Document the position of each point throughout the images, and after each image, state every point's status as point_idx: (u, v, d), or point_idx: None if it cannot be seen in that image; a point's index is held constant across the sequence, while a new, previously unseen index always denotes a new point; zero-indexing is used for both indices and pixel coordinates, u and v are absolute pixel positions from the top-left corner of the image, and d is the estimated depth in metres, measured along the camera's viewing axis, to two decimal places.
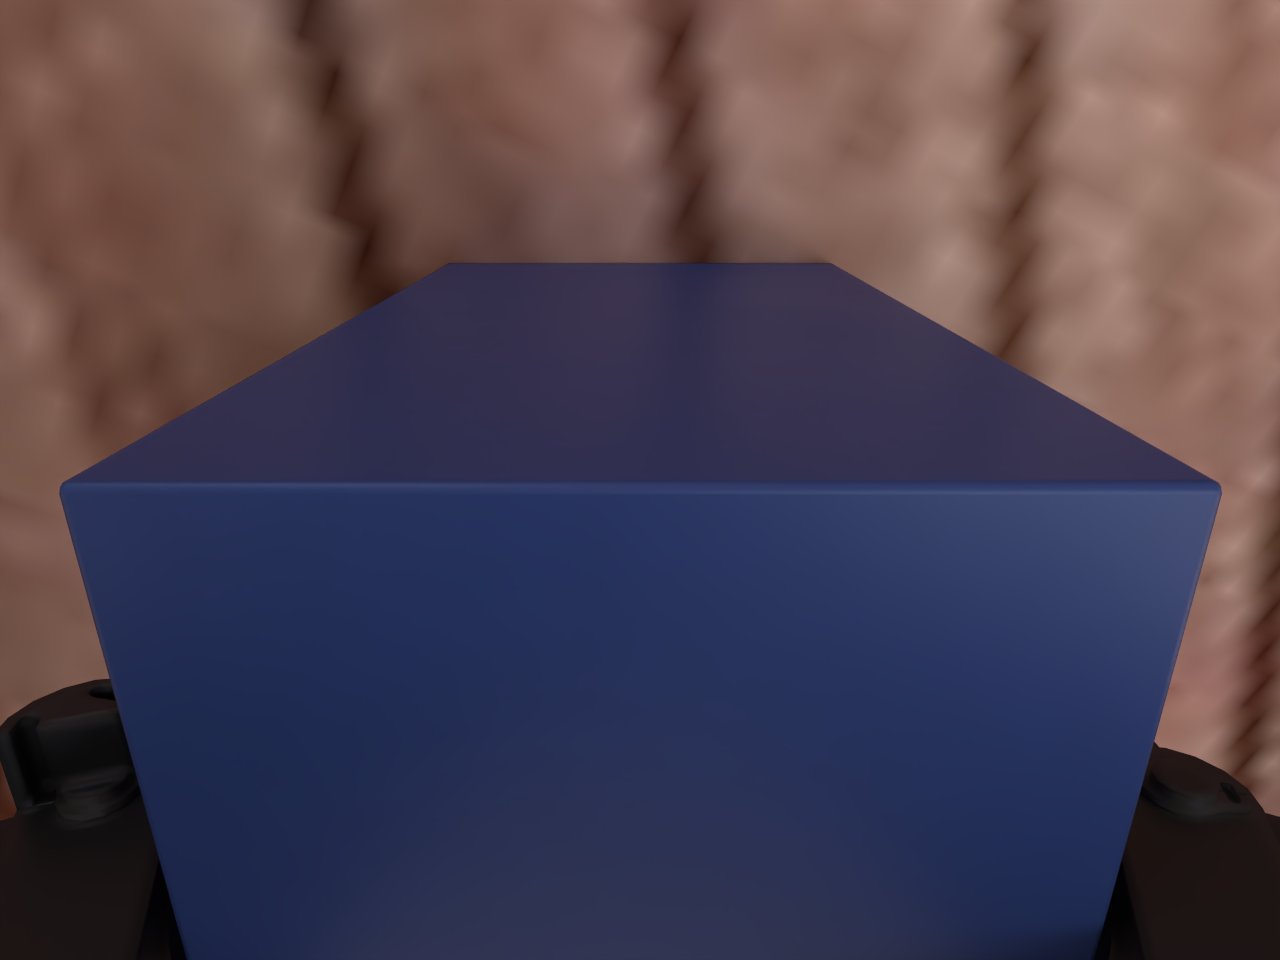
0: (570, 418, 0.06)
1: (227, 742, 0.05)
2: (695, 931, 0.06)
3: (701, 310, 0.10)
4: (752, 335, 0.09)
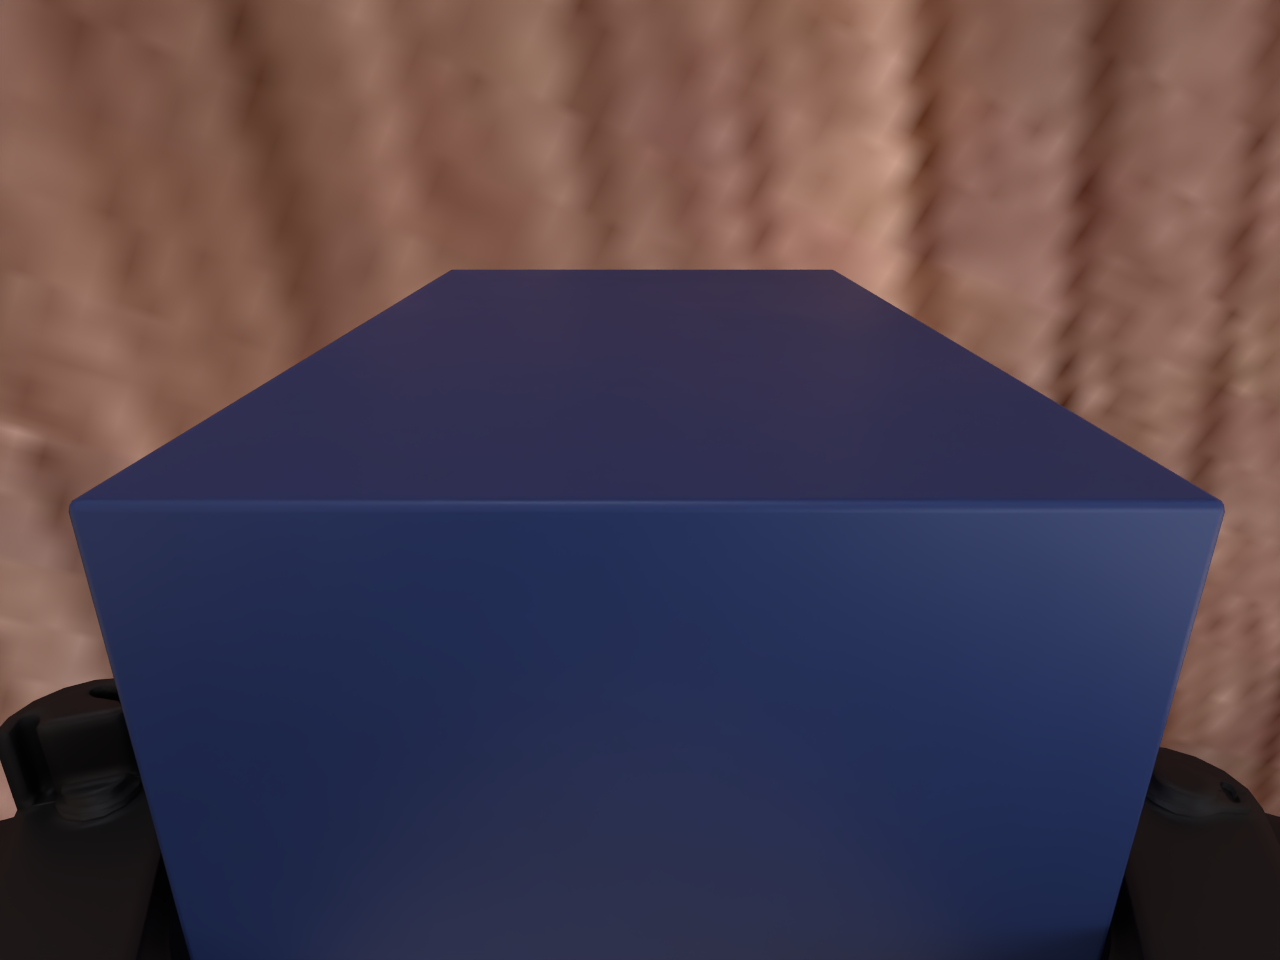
0: (576, 433, 0.06)
1: (235, 756, 0.05)
2: (699, 944, 0.06)
3: (704, 319, 0.10)
4: (755, 345, 0.09)
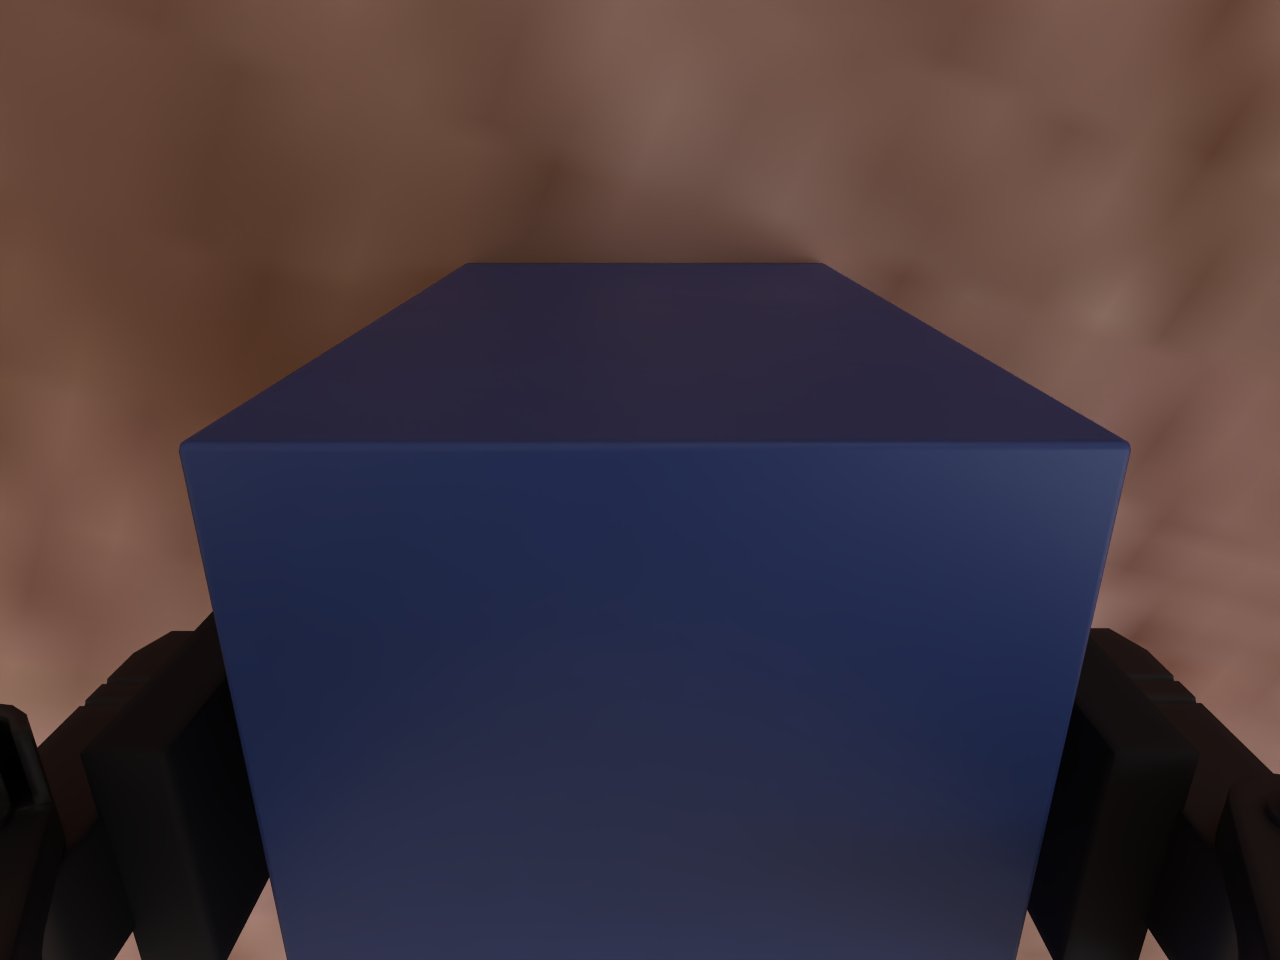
0: (593, 394, 0.07)
1: (308, 663, 0.06)
2: (698, 831, 0.07)
3: (702, 305, 0.11)
4: (748, 327, 0.10)
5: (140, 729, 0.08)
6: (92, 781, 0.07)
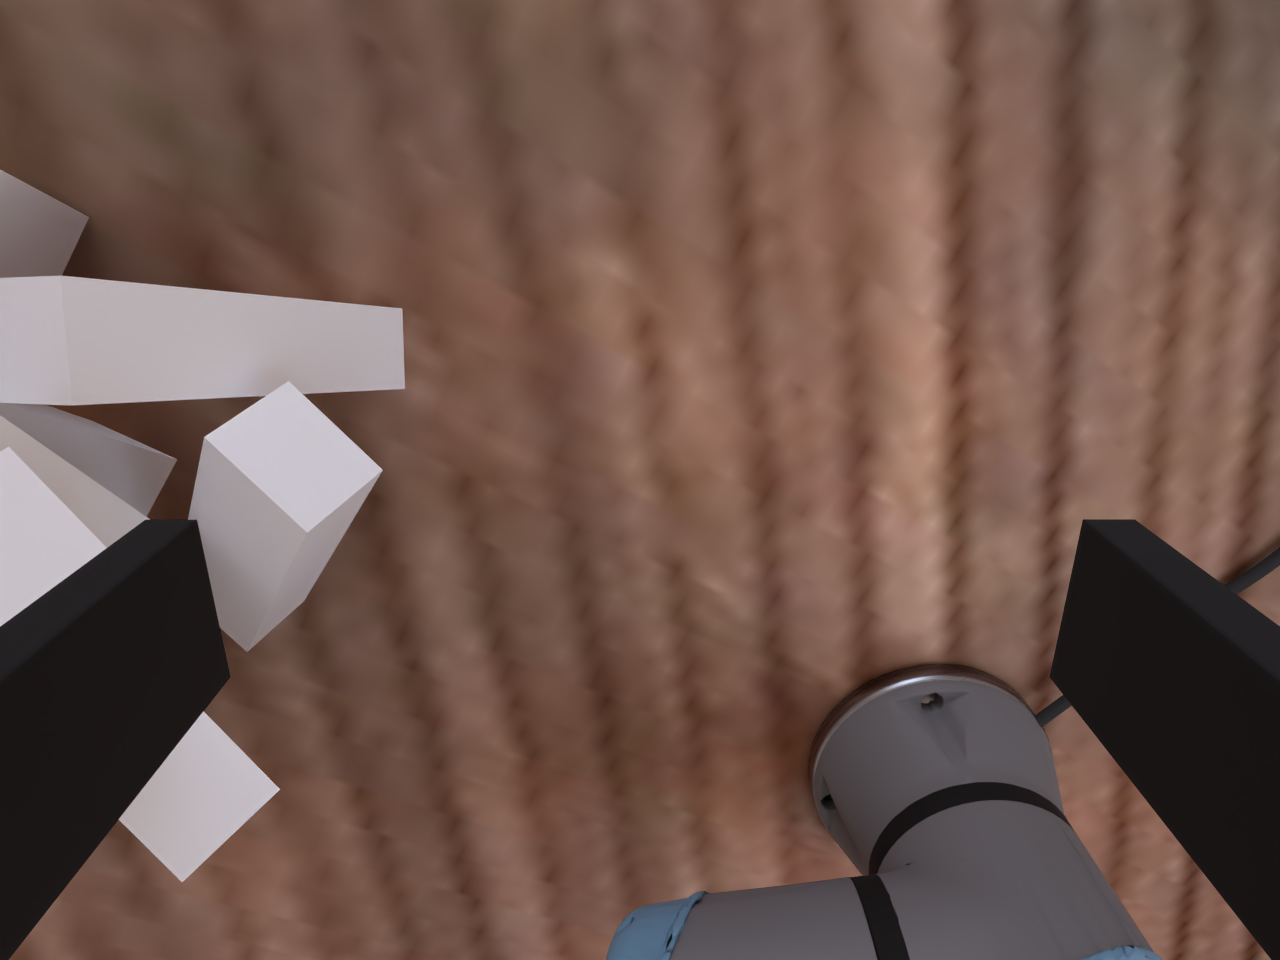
0: None
1: None
2: None
3: None
4: None
5: None
6: None
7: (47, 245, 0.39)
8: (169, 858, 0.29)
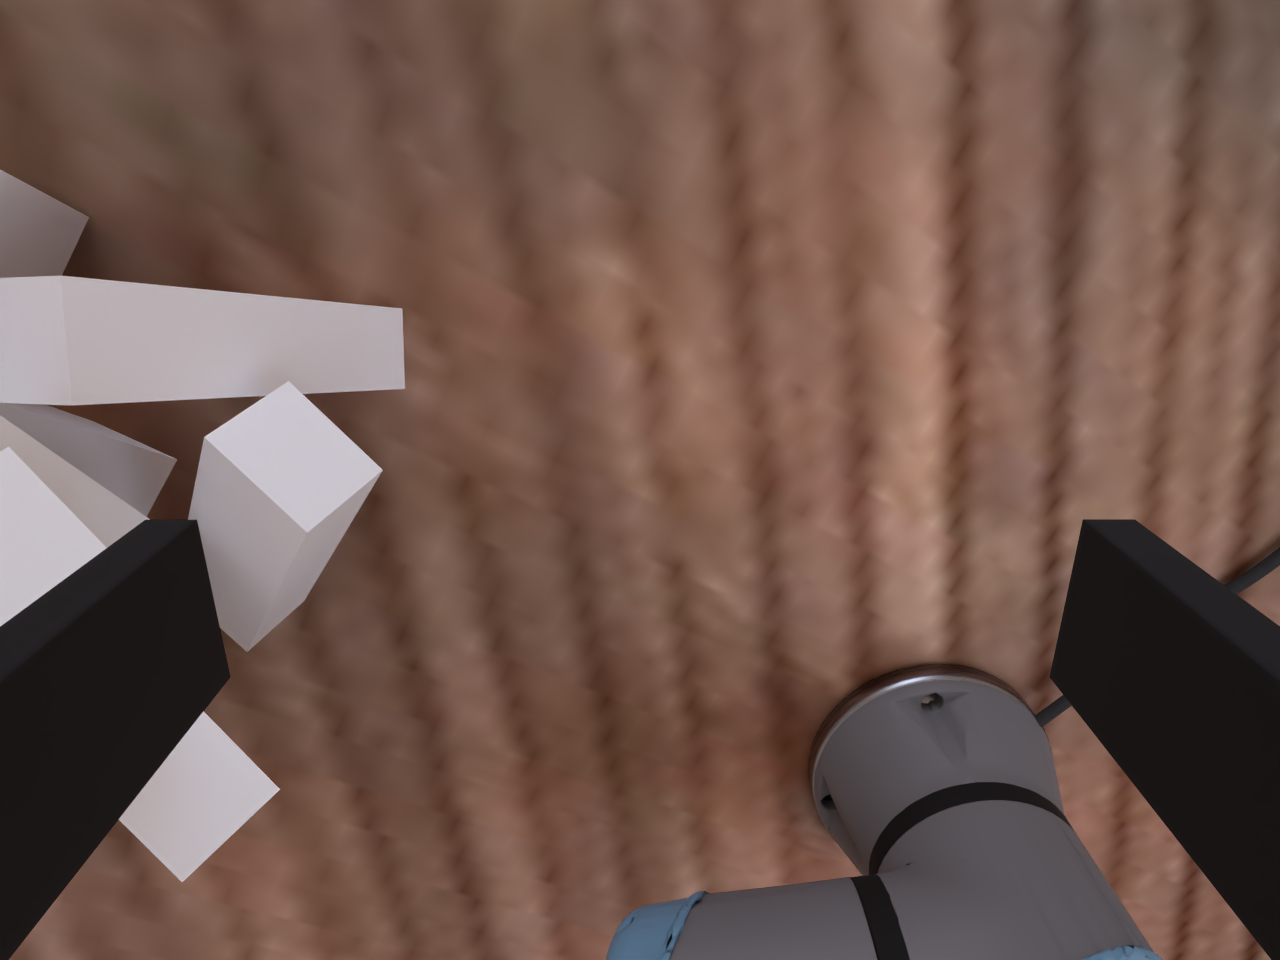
0: None
1: None
2: None
3: None
4: None
5: None
6: None
7: (47, 245, 0.39)
8: (169, 858, 0.29)
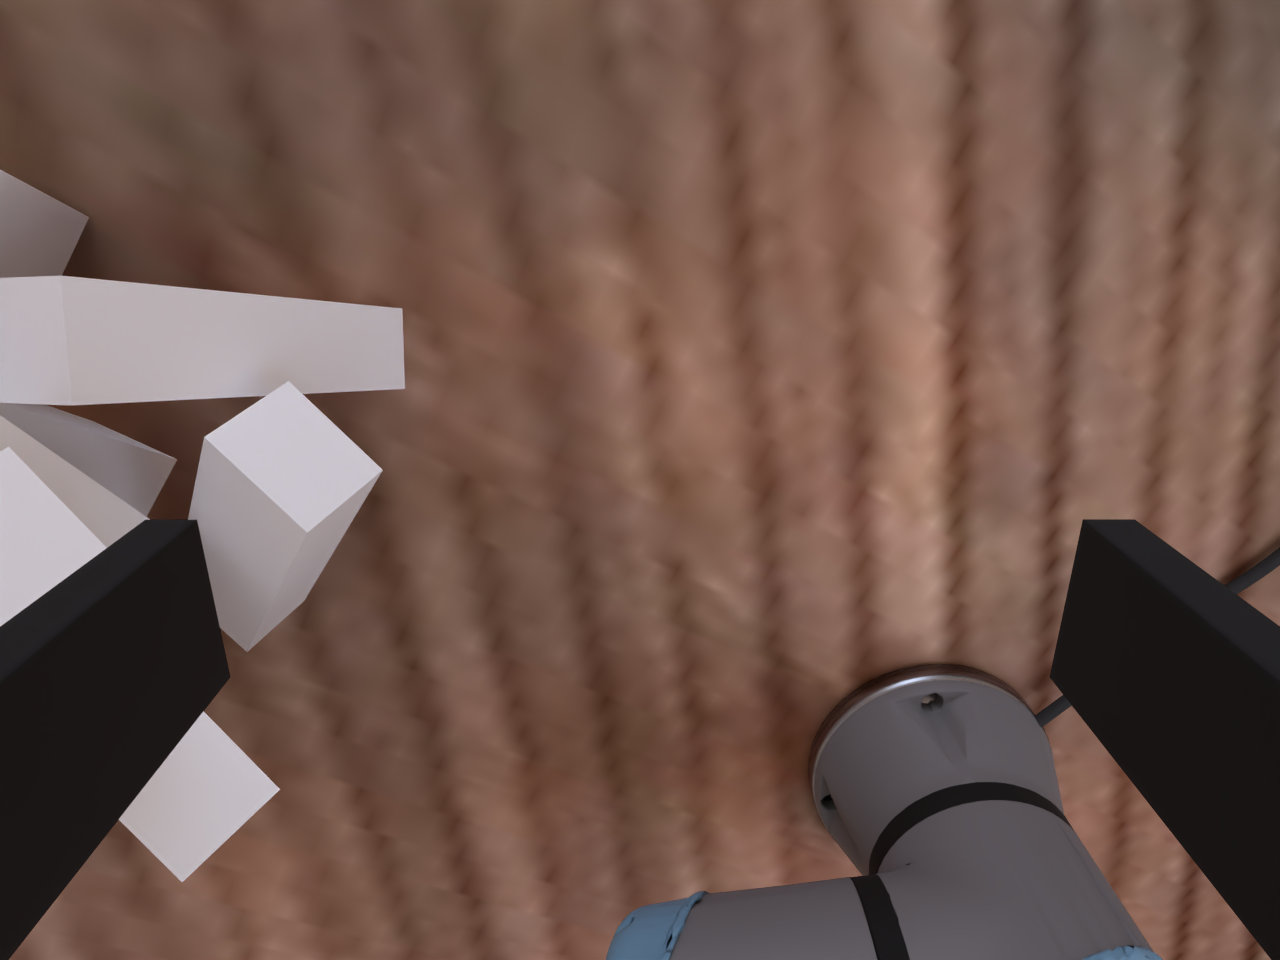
0: None
1: None
2: None
3: None
4: None
5: None
6: None
7: (47, 245, 0.39)
8: (169, 858, 0.29)
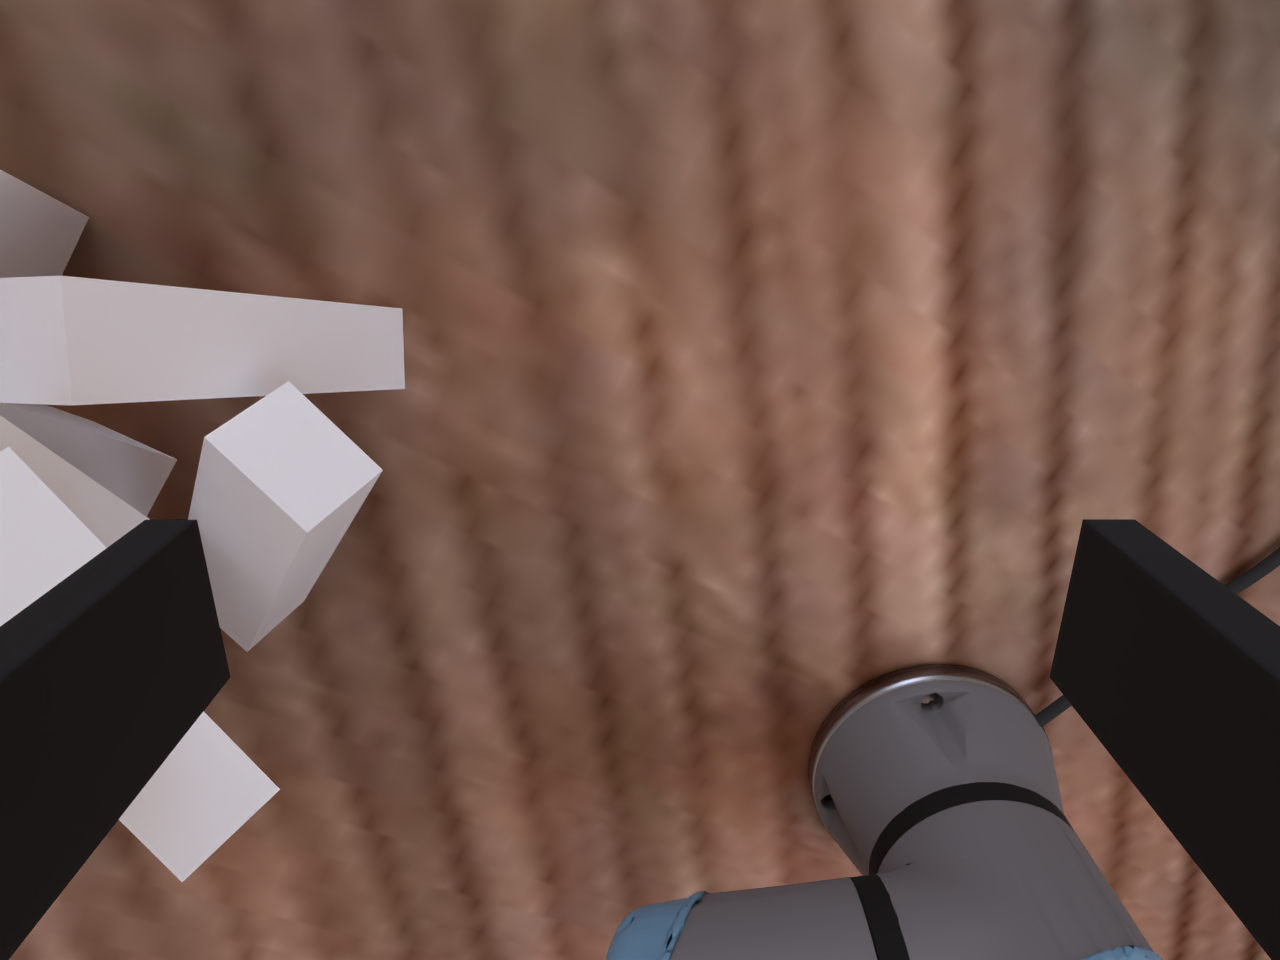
0: None
1: None
2: None
3: None
4: None
5: None
6: None
7: (47, 245, 0.39)
8: (169, 858, 0.29)
